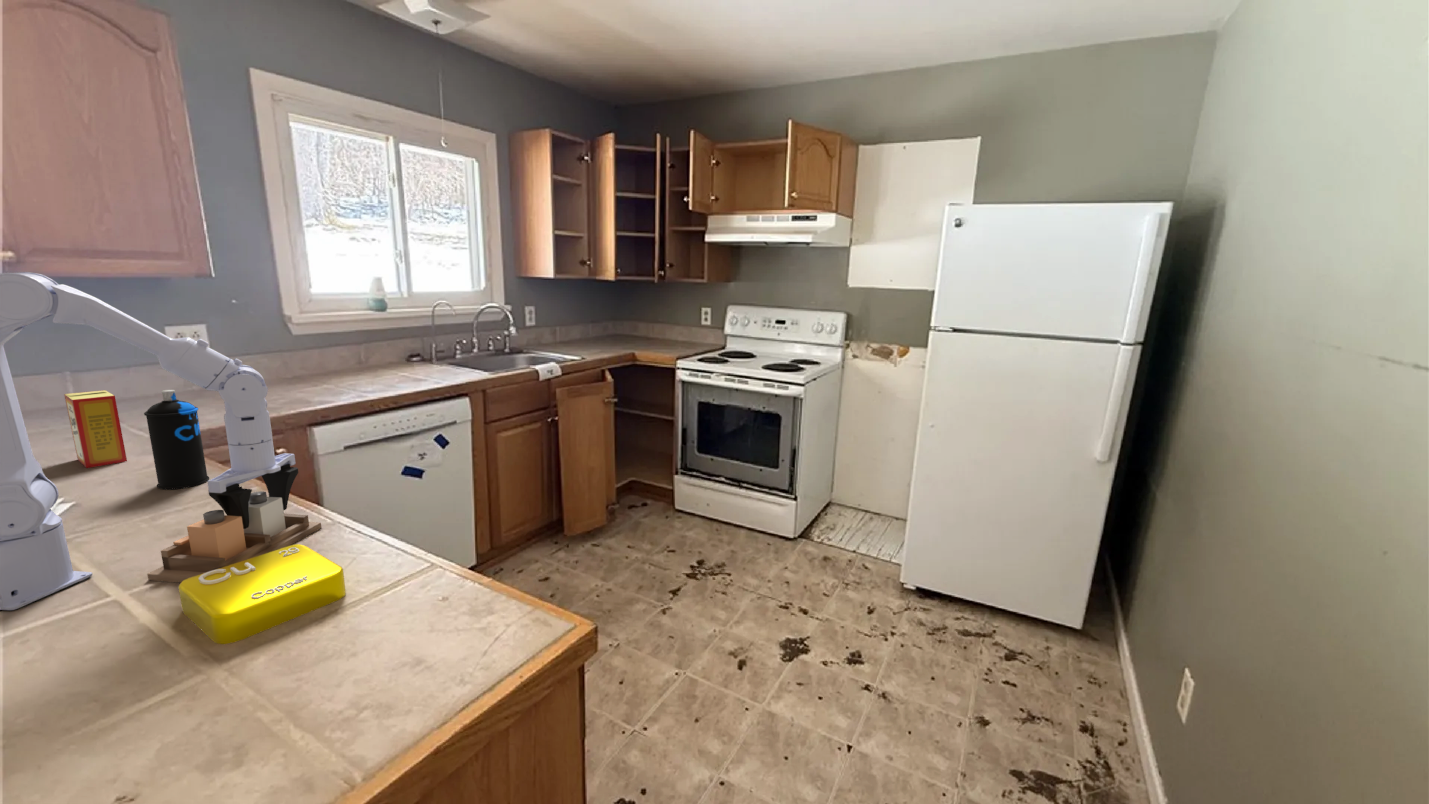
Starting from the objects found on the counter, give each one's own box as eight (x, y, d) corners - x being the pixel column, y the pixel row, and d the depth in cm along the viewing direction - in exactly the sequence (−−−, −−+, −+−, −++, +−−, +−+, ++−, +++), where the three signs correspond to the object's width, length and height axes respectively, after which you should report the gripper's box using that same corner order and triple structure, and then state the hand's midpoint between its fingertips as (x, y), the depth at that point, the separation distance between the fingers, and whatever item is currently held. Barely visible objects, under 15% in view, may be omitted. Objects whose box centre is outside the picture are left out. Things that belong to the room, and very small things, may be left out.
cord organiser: (218, 585, 83) (214, 557, 82) (148, 580, 84) (143, 552, 83) (321, 527, 102) (318, 504, 102) (263, 523, 103) (260, 500, 102)
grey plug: (264, 541, 94) (258, 499, 93) (238, 540, 95) (232, 498, 93) (286, 530, 99) (280, 489, 97) (261, 528, 99) (255, 488, 98)
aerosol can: (147, 491, 116) (129, 395, 112) (172, 477, 124) (156, 387, 120) (195, 488, 118) (180, 394, 114) (217, 475, 126) (204, 386, 122)
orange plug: (220, 565, 87) (213, 519, 85) (193, 563, 87) (185, 517, 85) (246, 551, 91) (240, 508, 89) (220, 549, 91) (213, 506, 90)
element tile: (221, 651, 70) (215, 616, 69) (178, 610, 77) (172, 578, 76) (352, 597, 82) (348, 566, 81) (303, 566, 90) (300, 538, 89)
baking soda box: (127, 461, 133) (114, 394, 130) (86, 468, 128) (72, 398, 124) (117, 453, 138) (104, 388, 135) (77, 459, 133) (63, 392, 130)
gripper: (233, 455, 86) (245, 538, 89) (307, 430, 100) (316, 503, 103) (189, 452, 86) (203, 535, 89) (270, 428, 101) (279, 501, 103)
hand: (261, 518), depth 96 cm, fingers open, 7 cm apart
